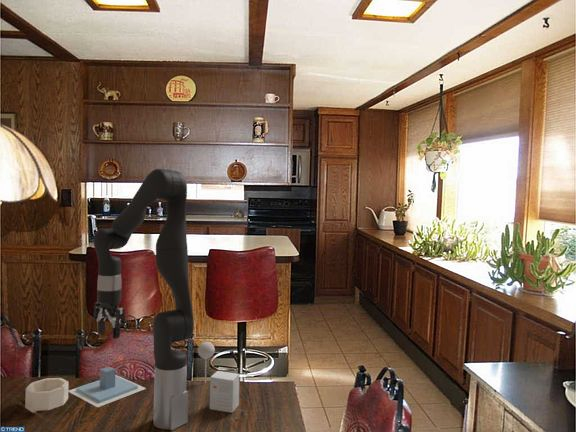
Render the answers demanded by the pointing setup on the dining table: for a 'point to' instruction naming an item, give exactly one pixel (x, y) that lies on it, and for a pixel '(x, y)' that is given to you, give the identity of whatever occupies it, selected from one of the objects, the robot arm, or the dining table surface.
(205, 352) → the lollipop
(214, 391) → the small box
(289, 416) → the dining table surface
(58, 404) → the bowl
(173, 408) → the robot arm
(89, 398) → the mat
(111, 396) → the lid
